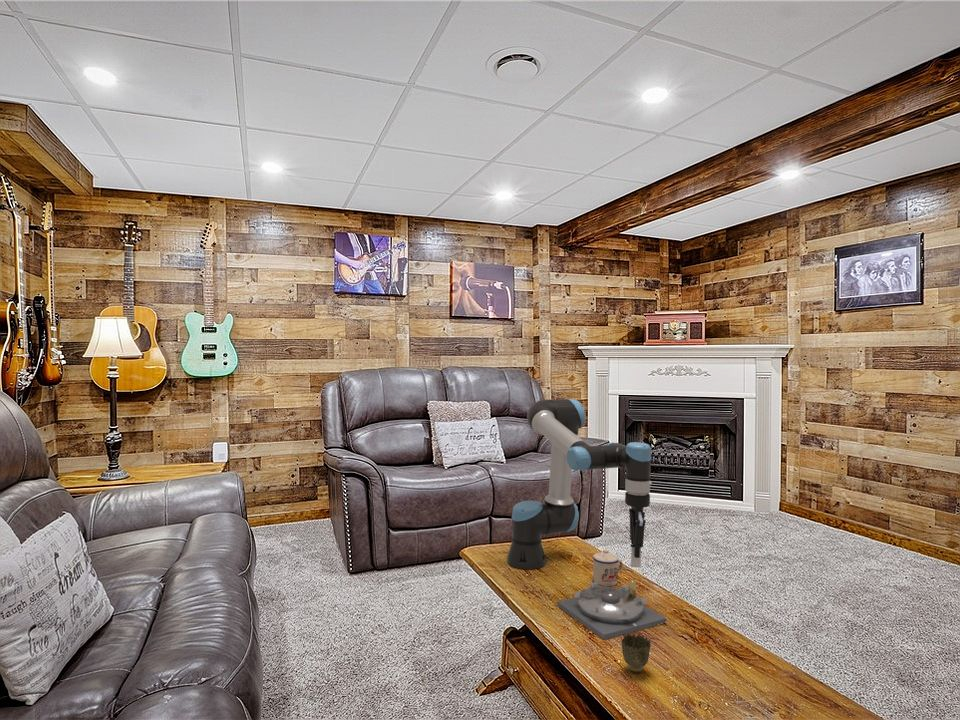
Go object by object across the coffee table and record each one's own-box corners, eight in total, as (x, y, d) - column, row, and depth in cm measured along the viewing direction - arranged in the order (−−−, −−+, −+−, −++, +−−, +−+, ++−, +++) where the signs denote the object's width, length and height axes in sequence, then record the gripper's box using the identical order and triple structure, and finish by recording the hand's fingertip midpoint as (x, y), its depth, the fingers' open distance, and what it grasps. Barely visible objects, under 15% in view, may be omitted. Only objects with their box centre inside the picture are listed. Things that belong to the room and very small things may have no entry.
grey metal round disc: (599, 629, 166) (599, 602, 165) (565, 597, 187) (565, 573, 187) (658, 620, 172) (659, 594, 172) (619, 590, 193) (619, 567, 193)
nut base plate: (557, 605, 185) (557, 600, 185) (615, 592, 195) (615, 587, 195) (603, 639, 163) (604, 634, 163) (666, 623, 174) (666, 617, 174)
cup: (628, 659, 153) (628, 630, 153) (654, 669, 148) (655, 639, 148) (615, 671, 147) (616, 640, 147) (642, 682, 143) (643, 650, 142)
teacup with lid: (602, 588, 199) (603, 555, 199) (587, 578, 207) (588, 547, 207) (630, 583, 204) (630, 551, 203) (614, 574, 212) (614, 543, 212)
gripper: (654, 498, 171) (652, 575, 172) (645, 487, 184) (643, 559, 185) (629, 497, 172) (627, 574, 173) (621, 486, 185) (620, 558, 186)
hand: (635, 566), depth 179 cm, fingers closed
